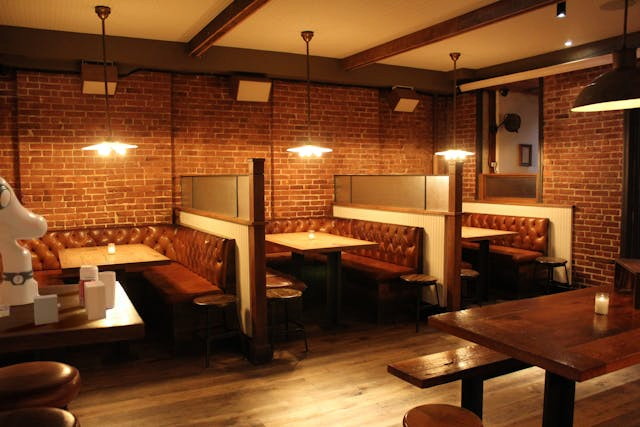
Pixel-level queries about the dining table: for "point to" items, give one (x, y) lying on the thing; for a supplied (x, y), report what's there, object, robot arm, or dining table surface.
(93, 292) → the socket block
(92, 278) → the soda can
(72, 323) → the dining table surface
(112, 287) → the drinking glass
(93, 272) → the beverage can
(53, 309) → the charger
